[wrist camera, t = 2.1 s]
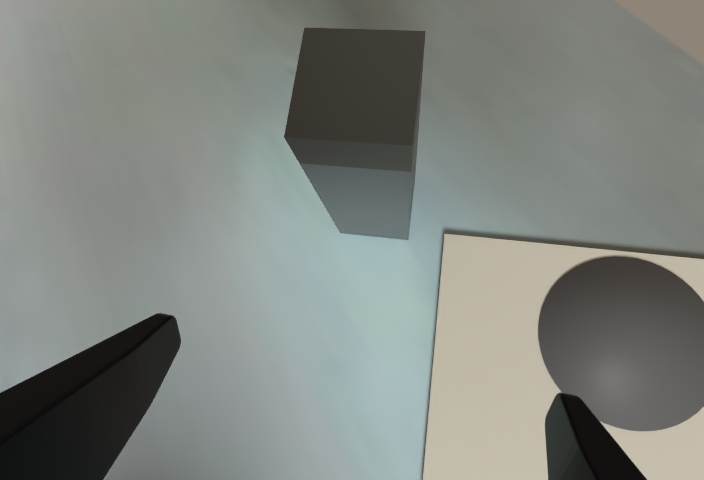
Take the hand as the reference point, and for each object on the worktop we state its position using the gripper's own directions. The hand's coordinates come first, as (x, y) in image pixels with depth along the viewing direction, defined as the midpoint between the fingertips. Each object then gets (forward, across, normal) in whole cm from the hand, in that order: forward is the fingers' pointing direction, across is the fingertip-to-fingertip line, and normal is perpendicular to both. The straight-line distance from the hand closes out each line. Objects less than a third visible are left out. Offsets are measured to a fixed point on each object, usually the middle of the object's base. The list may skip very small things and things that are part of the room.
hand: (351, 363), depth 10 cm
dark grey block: (+16, +2, +4) cm, 16 cm away
